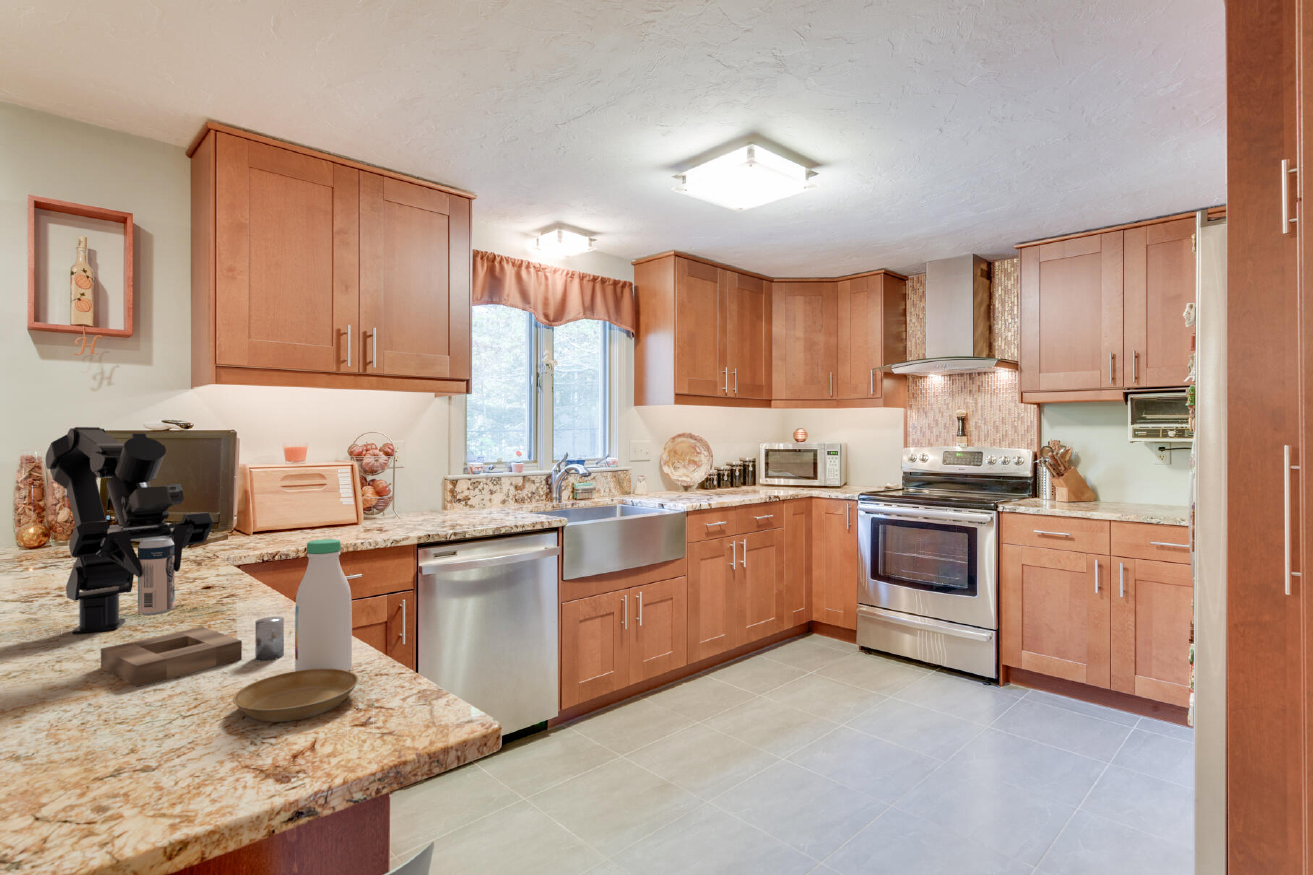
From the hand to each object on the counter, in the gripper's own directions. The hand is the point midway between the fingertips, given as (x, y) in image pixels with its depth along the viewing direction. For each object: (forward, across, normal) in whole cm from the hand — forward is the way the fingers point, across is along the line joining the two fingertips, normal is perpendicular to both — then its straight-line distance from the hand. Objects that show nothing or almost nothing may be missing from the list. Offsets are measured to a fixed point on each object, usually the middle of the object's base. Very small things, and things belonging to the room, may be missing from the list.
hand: (159, 572), depth 107 cm
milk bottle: (+30, +12, -10) cm, 34 cm away
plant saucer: (+37, +3, -17) cm, 41 cm away
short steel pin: (+20, +10, 0) cm, 22 cm away
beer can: (+4, 0, +6) cm, 7 cm away
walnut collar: (+13, 0, +6) cm, 15 cm away
